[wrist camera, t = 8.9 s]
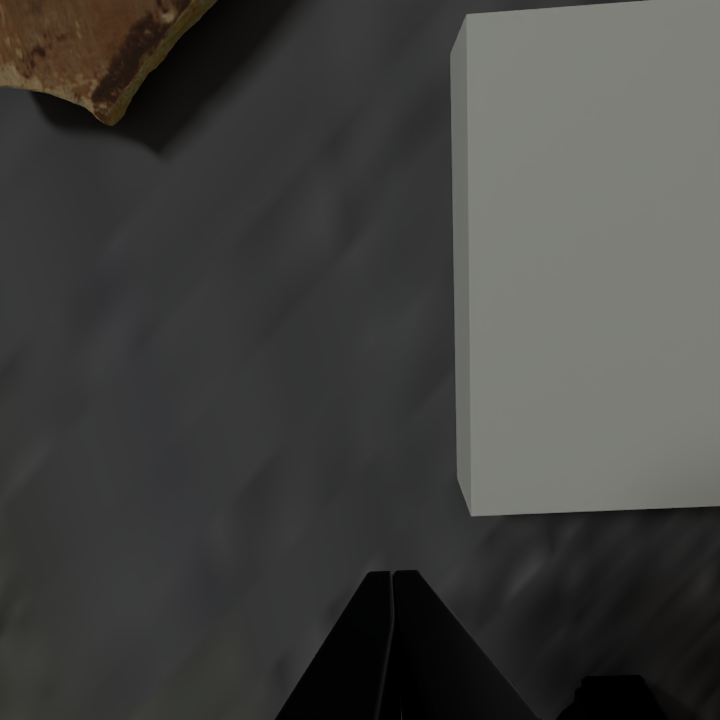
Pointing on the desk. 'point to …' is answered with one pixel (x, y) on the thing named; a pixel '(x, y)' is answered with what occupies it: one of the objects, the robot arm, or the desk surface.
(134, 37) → the shard
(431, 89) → the desk surface
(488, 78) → the plate
